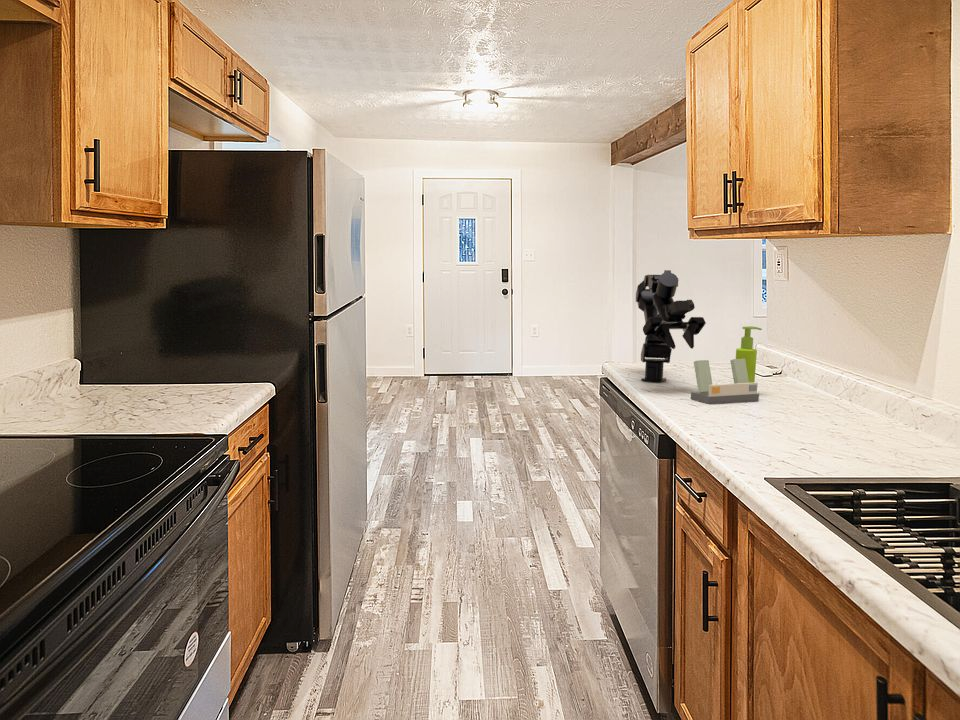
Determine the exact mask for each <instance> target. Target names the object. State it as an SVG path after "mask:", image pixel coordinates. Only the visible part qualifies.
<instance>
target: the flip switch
mask: <svg viewBox="0 0 960 720" xmlns="http://www.w3.org/2000/svg"><path fill="white" fill-rule="evenodd" d="M693 367H694V373H695V380H696V384H697V385H696V386H697V390H698V391H697V392H699V393H705V392H709V385H714V383H713V378H712V373H711V366H710V361H709V359H706V360H695V361H693Z"/></svg>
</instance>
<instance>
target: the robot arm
mask: <svg viewBox="0 0 960 720" xmlns="http://www.w3.org/2000/svg"><path fill="white" fill-rule="evenodd" d="M647 287H648V288H647ZM678 287H679V278H678V276H677V275H676V274H675V273H672V270H670V269H669V270H668V269H667V270H666V269H664V272H663V273H661V274H645V275H644V278H643V280H642V281H641V282H640V283H639V284H638V285H637V287H636V291H635V302H636V303H637V307H638V309H639V310H641V311H642V312H643V313H644V321H645V323H644V325H643V326H642V332H643V333H644V335H645V338H644V343H643V344H642V347H641V352H640V361H641V362H642V363H645V366H644V367H645V368H644V369H645V370H644V377H643V378H641V381H645V382H655V383H662V382H664V381H666V380H667V378H665V377H664V363H665V364H666V363H667V364H670V362H671V356H672V350H675V349H676V346H677V345H676V343H675V341H674V339H673V335H672V333H671V331H670V330H682V331H683V334H682V338H683V339H684V341H685V342H686V343H687V345H688V347H689V348H690V349H694V347H695V343H694V342H695V336H696V335H699V333H700V332H701V331H702V330H703V328H704V327H705V325H706V324H707V323H706V320H705V319H704V317H702V316H691V317H690V318H689V320H688V321H683V320H684V319H685V318H686V317H687V316H686V314H687V313H690V312H692V311H693V310H695V308H696V307H695V303H694V301H693V299H686V300H675V301H674V298H673V297H675V295H676V293H677V292H676V291H677V288H678Z"/></svg>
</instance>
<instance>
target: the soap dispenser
mask: <svg viewBox="0 0 960 720" xmlns="http://www.w3.org/2000/svg"><path fill="white" fill-rule="evenodd" d="M741 329H743V330H744V336H742V337H741V338H740V340H741V341H740V347H739V348H736V350H735V359H745V362H746V368H747V374H748V380H749V383H755V382H756V381H755V380H756V368H757V367H756V366H757V365H756V364H757V353H758V352H757V351H758V350H757V349H755V348H754V347H753V346H754V338H753V337H752V336H751V331H752V330H758V331H762V330H763V328H761V327H757V326H742V328H741Z"/></svg>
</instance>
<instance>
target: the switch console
mask: <svg viewBox="0 0 960 720" xmlns="http://www.w3.org/2000/svg"><path fill="white" fill-rule="evenodd" d="M758 384H759V383H758V382H756V381H755V383H736V384H734V383H721V384H713V385H709V392H705V393H699V392H698V391H690V400H693V401H695V402H696V401H697V402H699V403H703V404H708V405H715V404H716V405H717V404H731V403H732V404H733V403H744V402H745V403H747V402H759V400H760V393H758V387H759V385H758Z"/></svg>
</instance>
